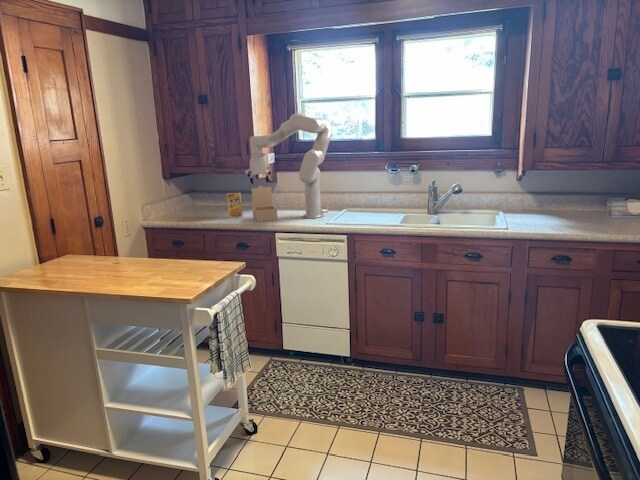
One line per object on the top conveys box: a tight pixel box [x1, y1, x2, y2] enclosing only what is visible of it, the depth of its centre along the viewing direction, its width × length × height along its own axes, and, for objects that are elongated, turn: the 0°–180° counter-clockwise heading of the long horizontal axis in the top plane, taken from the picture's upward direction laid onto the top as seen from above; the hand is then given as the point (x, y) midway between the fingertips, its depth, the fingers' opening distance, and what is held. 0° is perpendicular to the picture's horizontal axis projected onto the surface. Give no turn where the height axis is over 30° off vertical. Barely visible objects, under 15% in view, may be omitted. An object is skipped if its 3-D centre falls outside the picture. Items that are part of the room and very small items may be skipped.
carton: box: [252, 205, 278, 223], centre depth 301 cm, size 13×13×7 cm
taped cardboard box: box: [251, 184, 273, 208], centre depth 308 cm, size 12×12×7 cm
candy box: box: [225, 192, 244, 219], centre depth 311 cm, size 9×4×15 cm, turn 107°
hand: (259, 183), depth 310 cm, fingers open, 9 cm apart
